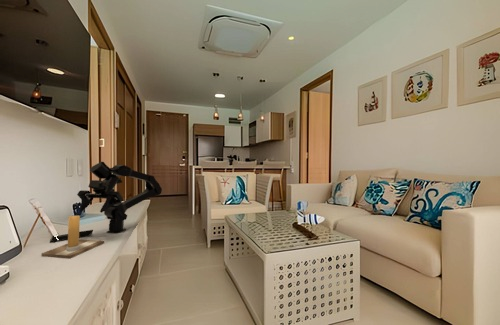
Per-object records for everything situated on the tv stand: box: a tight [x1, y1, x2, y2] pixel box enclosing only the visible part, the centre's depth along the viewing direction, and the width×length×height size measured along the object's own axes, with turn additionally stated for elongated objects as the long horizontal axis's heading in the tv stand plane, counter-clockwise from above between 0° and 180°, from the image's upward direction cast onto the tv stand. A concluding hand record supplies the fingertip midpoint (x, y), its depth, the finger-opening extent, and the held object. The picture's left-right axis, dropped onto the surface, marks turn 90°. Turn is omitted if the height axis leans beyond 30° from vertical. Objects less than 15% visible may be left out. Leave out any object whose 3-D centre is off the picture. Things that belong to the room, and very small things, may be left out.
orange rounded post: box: [66, 215, 81, 252], centre depth 85 cm, size 4×4×13 cm
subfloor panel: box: [40, 238, 105, 259], centre depth 88 cm, size 16×12×1 cm
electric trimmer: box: [49, 229, 94, 244], centre depth 100 cm, size 4×16×3 cm, turn 133°
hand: (90, 211), depth 96 cm, fingers open, 9 cm apart
